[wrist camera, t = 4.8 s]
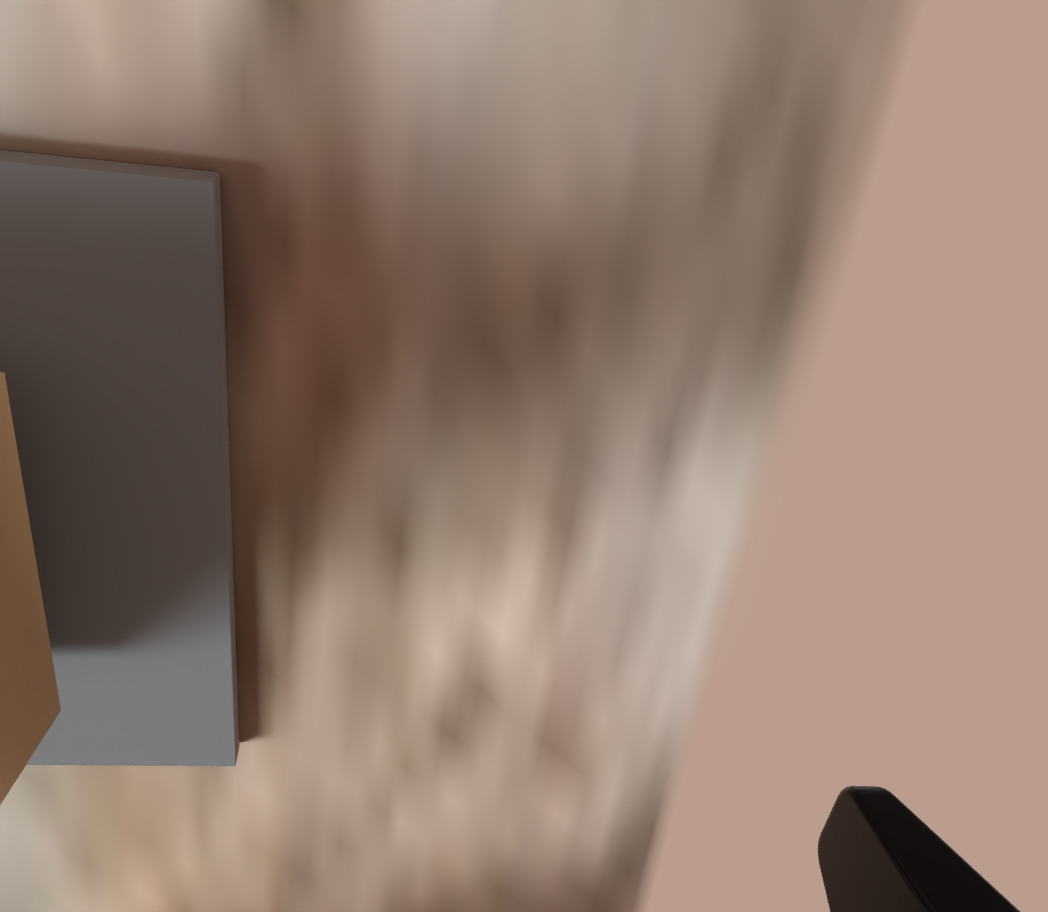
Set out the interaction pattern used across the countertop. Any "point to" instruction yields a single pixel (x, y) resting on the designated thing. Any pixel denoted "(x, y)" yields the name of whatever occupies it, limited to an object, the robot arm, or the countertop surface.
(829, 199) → the countertop surface
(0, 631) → the block
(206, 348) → the mat
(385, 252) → the countertop surface
